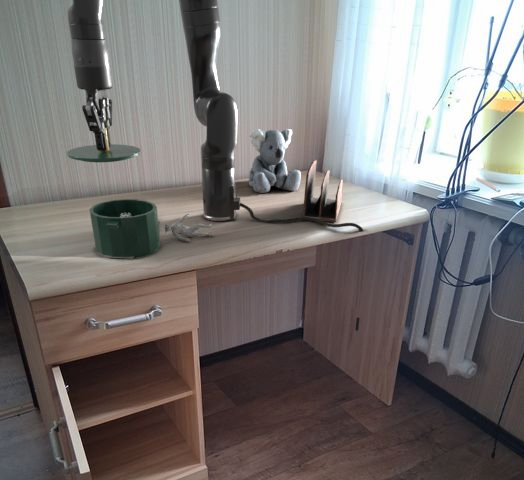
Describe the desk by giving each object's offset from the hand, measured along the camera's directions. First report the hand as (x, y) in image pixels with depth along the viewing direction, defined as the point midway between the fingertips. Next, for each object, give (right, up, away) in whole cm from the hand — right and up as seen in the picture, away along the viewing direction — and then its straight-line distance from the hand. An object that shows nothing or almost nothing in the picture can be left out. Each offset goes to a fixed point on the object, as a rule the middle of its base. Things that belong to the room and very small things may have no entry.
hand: (104, 148), depth 118 cm
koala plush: (+40, +11, +62) cm, 75 cm away
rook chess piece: (+3, -21, +10) cm, 23 cm away
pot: (+3, -21, +10) cm, 23 cm away
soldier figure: (+17, -17, +17) cm, 30 cm away
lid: (0, -1, +1) cm, 1 cm away
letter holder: (+55, -4, +38) cm, 67 cm away
